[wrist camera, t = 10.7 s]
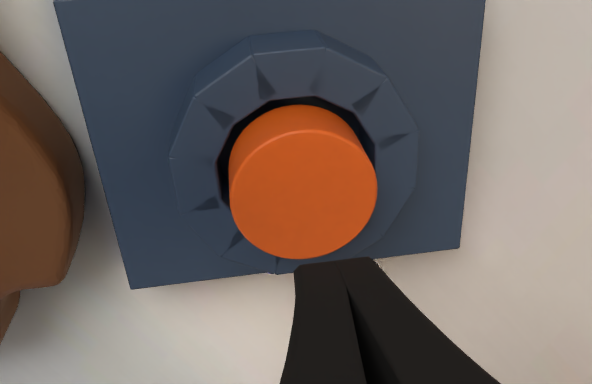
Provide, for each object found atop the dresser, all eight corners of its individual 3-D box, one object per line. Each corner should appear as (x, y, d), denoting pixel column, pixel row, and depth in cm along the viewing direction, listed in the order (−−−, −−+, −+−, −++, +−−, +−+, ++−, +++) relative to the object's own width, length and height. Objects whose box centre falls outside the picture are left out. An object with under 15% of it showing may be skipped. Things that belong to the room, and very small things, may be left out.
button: (236, 231, 15) (238, 268, 14) (220, 110, 14) (220, 139, 12) (362, 216, 16) (377, 251, 14) (362, 96, 14) (380, 122, 12)
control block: (137, 259, 19) (122, 329, 16) (68, -11, 15) (30, 16, 12) (442, 222, 20) (482, 282, 17) (464, -45, 16) (524, -28, 13)
